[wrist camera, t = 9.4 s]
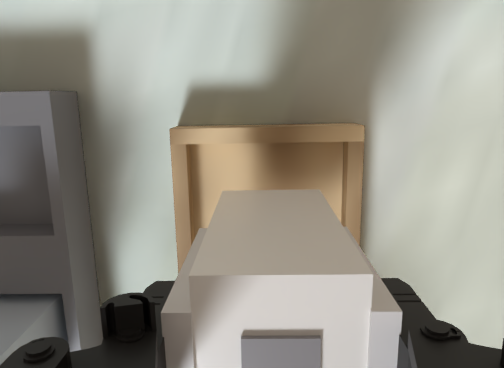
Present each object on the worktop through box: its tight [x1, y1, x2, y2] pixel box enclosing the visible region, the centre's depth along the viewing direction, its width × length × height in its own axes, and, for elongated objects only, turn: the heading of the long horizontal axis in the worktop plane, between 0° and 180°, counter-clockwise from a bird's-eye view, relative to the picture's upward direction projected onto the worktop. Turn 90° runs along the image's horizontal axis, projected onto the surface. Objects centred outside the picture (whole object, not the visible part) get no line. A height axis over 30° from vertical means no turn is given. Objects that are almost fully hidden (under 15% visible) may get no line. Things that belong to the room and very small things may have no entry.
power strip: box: [0, 91, 103, 352], centre depth 23 cm, size 25×7×4 cm, turn 1°
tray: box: [170, 123, 365, 274], centre depth 23 cm, size 10×10×2 cm
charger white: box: [189, 189, 373, 368], centre depth 15 cm, size 4×4×9 cm
